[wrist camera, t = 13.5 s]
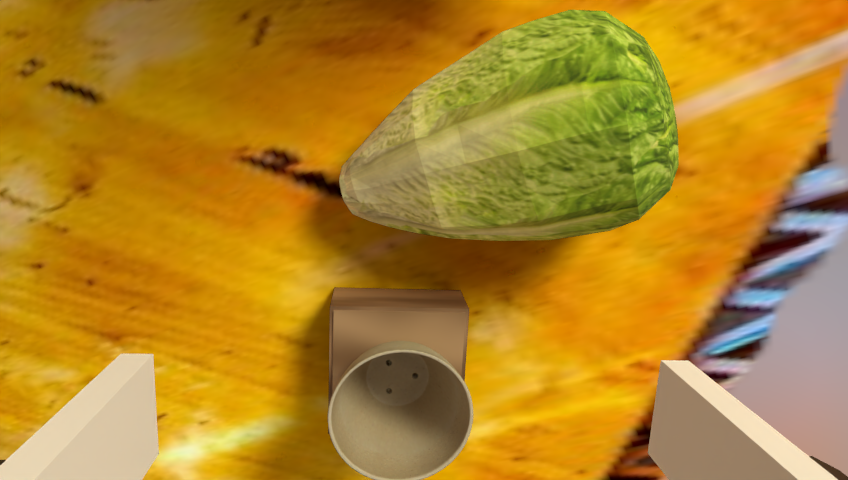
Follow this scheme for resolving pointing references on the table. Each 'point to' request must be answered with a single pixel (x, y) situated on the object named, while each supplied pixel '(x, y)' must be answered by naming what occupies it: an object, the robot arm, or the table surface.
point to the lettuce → (525, 138)
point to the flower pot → (400, 412)
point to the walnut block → (395, 324)
